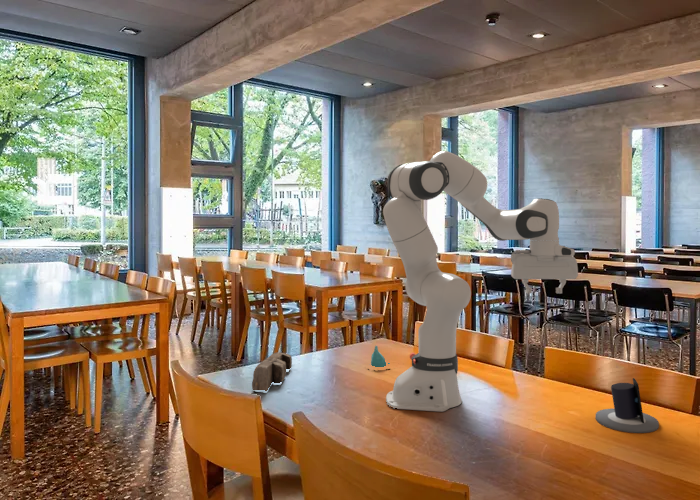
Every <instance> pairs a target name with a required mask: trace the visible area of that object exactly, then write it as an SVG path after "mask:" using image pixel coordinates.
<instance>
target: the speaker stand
mask: <svg viewBox="0 0 700 500" xmlns="http://www.w3.org/2000/svg"><path fill="white" fill-rule="evenodd" d="M643 419H644V423H642V421H641V420H640V418H639V416H638V417H636V418H633V419H621V418H618V417H616V416H615V410H614V408H605V409H601V410H597V412H596V413H595V421H596V422H597V423H599V425H601V426H603V427H606V428H609V429H611V430H615V431H619V432H623V433H631V434H632V433H633V434H647V433H653V432H655V431H657V430H659V427H660V425H659V424H660V423H659V420H658V419H657V418H656V417H654V416H652V415H650V414H647V413H644V412H643Z"/></svg>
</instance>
